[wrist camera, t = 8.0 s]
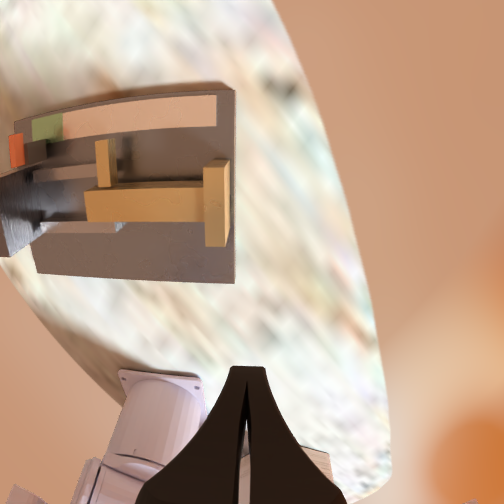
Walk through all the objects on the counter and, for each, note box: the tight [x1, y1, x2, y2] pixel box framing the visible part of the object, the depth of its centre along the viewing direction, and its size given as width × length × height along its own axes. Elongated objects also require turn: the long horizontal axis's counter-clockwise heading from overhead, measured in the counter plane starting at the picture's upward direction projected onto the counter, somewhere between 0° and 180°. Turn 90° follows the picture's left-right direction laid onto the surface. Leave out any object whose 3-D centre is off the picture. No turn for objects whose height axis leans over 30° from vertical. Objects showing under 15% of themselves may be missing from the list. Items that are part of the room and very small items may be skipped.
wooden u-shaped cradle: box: [84, 138, 230, 247], centre depth 16 cm, size 6×8×3 cm
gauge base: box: [0, 90, 236, 284], centre depth 17 cm, size 12×16×5 cm
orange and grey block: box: [9, 133, 47, 168], centre depth 15 cm, size 2×1×3 cm, turn 179°
